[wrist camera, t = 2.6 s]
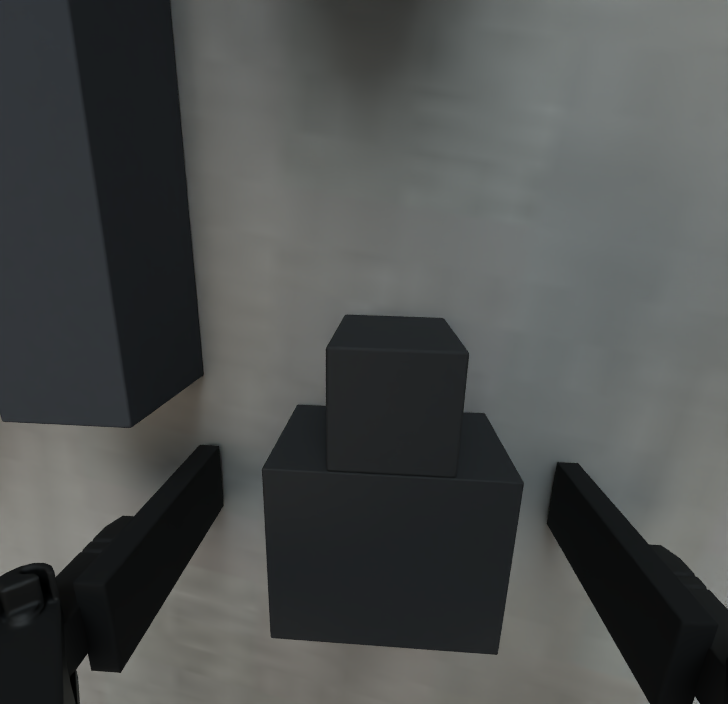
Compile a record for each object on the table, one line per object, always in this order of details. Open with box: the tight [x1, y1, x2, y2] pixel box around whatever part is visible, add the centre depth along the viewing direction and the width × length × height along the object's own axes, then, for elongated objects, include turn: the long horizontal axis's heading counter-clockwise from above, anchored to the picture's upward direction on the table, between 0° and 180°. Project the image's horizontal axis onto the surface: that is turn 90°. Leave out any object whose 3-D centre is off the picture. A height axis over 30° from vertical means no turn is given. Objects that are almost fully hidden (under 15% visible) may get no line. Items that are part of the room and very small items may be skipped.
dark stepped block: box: [262, 315, 524, 655], centre depth 13 cm, size 7×10×4 cm
